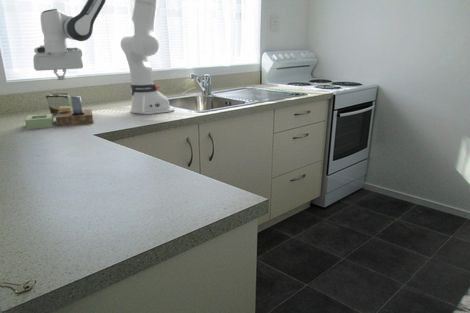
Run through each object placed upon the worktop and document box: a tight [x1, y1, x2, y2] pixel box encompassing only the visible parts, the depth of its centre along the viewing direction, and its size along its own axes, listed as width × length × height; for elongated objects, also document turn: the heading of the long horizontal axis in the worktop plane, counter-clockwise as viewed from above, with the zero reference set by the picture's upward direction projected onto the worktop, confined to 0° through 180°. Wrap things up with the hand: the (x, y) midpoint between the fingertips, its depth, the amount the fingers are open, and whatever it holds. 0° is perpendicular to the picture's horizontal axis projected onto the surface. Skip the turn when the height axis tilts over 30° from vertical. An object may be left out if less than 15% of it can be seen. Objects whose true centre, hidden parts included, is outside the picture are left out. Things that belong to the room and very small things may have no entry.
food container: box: [45, 92, 71, 115], centre depth 192 cm, size 12×6×10 cm, turn 84°
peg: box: [70, 95, 83, 116], centre depth 170 cm, size 4×4×12 cm
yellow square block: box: [59, 105, 72, 113], centre depth 175 cm, size 5×5×5 cm
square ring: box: [24, 113, 54, 130], centre depth 165 cm, size 10×10×4 cm
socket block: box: [55, 108, 94, 127], centre depth 173 cm, size 15×15×4 cm
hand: (61, 79), depth 170 cm, fingers closed
